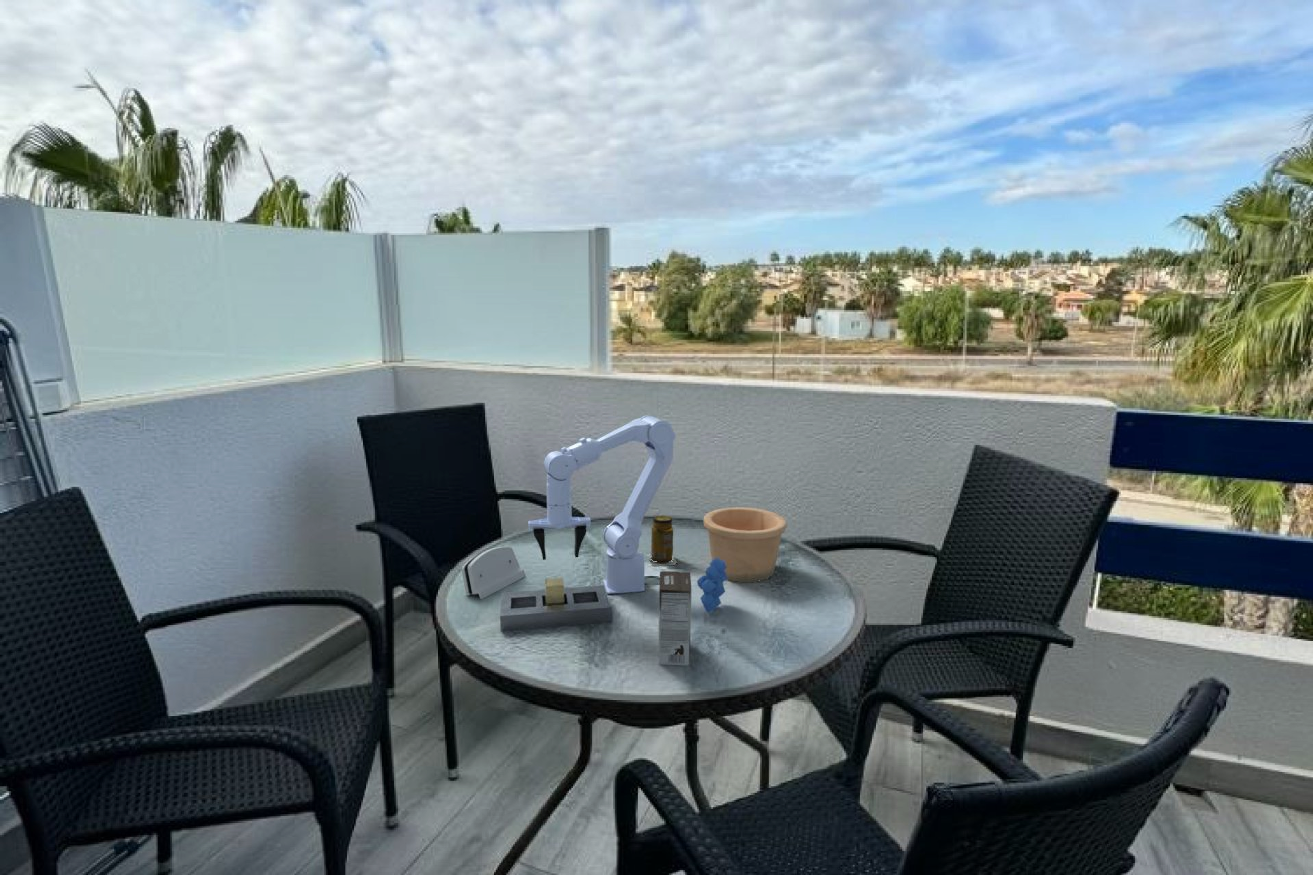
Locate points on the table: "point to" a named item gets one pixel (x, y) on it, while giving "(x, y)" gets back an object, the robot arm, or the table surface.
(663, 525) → the condiment
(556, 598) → the brass block
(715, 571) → the grapes
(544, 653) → the table surface
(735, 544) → the pottery
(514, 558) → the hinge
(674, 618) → the coffee box
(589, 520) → the robot arm
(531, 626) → the grey block holder
